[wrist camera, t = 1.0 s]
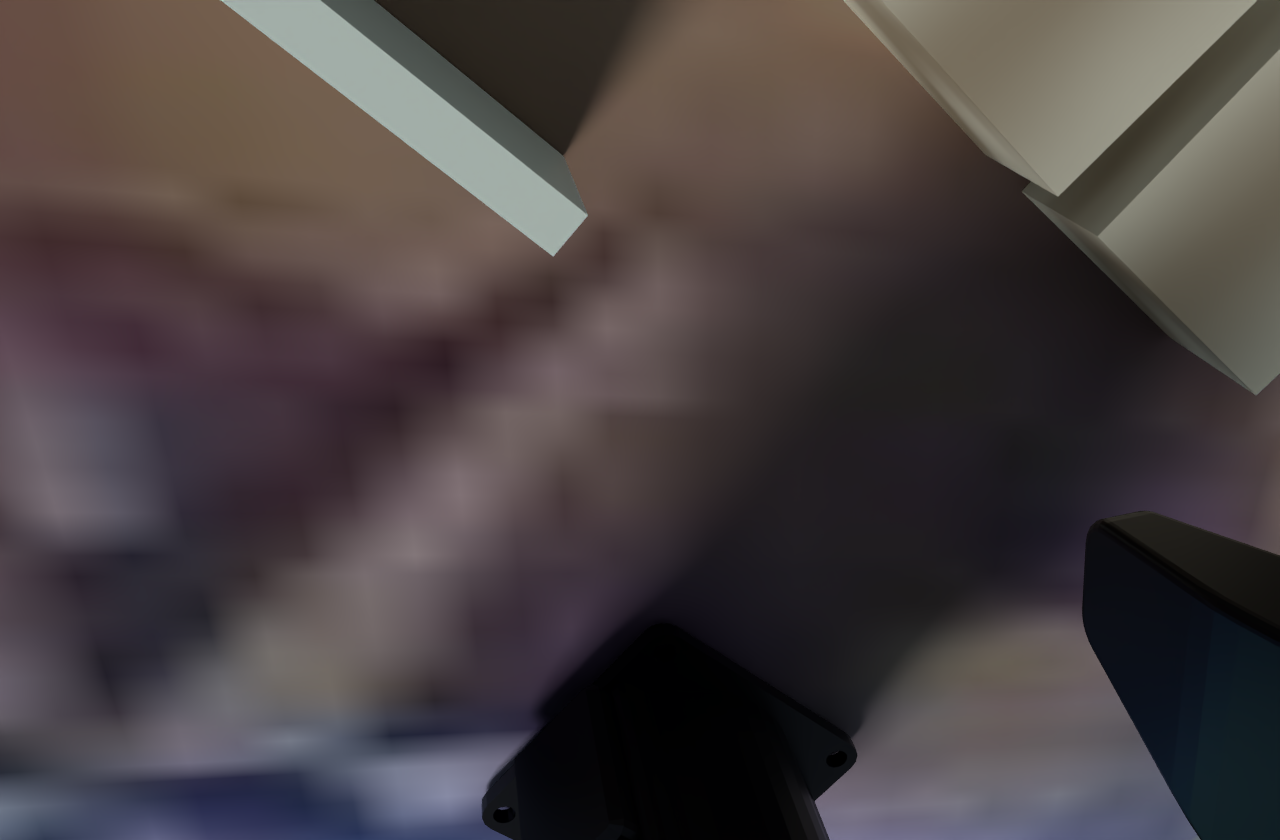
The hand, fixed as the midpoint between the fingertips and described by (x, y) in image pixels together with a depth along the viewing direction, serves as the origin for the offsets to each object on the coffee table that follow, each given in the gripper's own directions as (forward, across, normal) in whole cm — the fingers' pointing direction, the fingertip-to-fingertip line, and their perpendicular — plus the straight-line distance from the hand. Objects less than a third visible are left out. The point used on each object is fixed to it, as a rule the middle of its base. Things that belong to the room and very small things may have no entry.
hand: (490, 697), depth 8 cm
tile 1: (+14, -14, +2) cm, 19 cm away
